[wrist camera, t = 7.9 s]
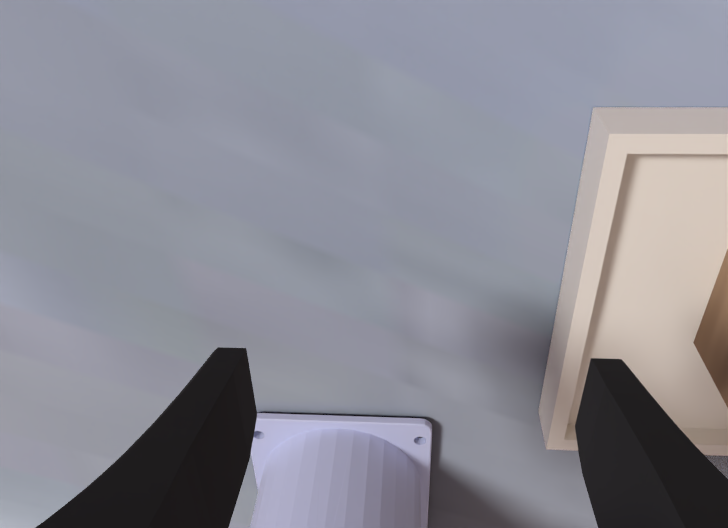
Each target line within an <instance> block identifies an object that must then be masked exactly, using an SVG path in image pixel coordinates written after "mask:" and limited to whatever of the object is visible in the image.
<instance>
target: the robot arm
mask: <svg viewBox="0 0 728 528" xmlns="http://www.w3.org/2000/svg"><path fill="white" fill-rule="evenodd" d="M258 431H261V432H258ZM575 431H576V438H577V444H578V451H579V456H580V462H581V468H582V473H583V477H584V480H585V484H586V487H587V491H588V494H589V498H590V501H591V504H592V508H593V511H594V515H595V518H596V521H597V525H598V528H728V479H727V478H726V477H725V476H724V475H723V474H722V473H721V472H720V471H719V470H718V469H717V468H716V467H715V466H714V465H713V464H712V463H711V462H710V461H709V460H708V459H707V458H706V457H705V456H704V454H703V453H702V452H701V451H700V450H699V449H698V448H697V447H696V446H695V445H694V444H693V443H692V442H691V440H690V439H689V438H688V437H687V436H686V435H685V434H684V433H683V431H682V430H681V429H680V428H679V427H678V426H677V425H676V424H675V423H674V421H673V420H672V419H671V418H670V417H669V416H668V414H667V413H666V412H665V411H664V410H663V409H662V407H661V406H660V405H659V404H658V403H657V401H656V400H655V399H654V398H653V397H652V395H651V394H650V393H649V392H648V391H647V389H646V388H645V387H644V386H643V384H642V383H641V382H640V381H639V380H638V378H637V377H636V376H635V375H634V373H633V372H632V371H631V370H630V368H629V367H628V366H627V365H626V364H625V362H624V361H623V360H622V359H602V358H591V360H590V364H589V368H588V373H587V377H586V381H585V385H584V390H583V394H582V398H581V402H580V407H579V411H578V415H577V419H576V424H575ZM419 437H422V438H419ZM431 445H432V425H431V423H430V422H429V421H428V420H426V419H421V418H395V417H364V416H334V415H304V414H273V413H257V411H256V405H255V399H254V393H253V387H252V381H251V375H250V369H249V363H248V357H247V351H246V348H217V349H216V350H215V351H214V352H213V353H212V354H211V356H210V357H209V358H208V359H207V361H206V362H205V363H204V364H203V366H202V367H201V368H200V369H199V371H198V372H197V373H196V374H195V376H194V377H193V378H192V379H191V380H190V382H189V383H188V384H187V385H186V386H185V388H184V389H183V390H182V391H181V392H180V394H179V395H178V396H177V397H176V398H175V399H174V401H173V402H172V403H171V404H170V405H169V406H168V407H167V409H166V410H165V411H164V412H163V413H162V414H161V415H160V417H159V418H158V419H157V420H156V421H155V422H154V423H153V424H152V425H151V426H150V427H149V428H148V429H147V430H146V431H145V433H144V434H143V435H142V436H141V437H140V438H139V439H138V440H137V441H136V442H135V443H134V444H133V445H132V446H131V447H130V448H129V449H128V450H127V451H126V452H125V453H124V454H123V455H122V456H121V457H120V458H119V459H118V460H117V461H116V462H115V463H114V464H112V465H111V466H110V467H109V468H108V469H107V470H106V471H105V472H104V473H103V474H102V475H100V476H99V477H98V478H97V479H96V480H95V481H94V482H92V483H91V484H90V485H89V486H88V487H87V488H86V489H84V490H83V491H82V492H81V493H79V494H78V495H77V496H76V497H74V498H73V499H72V500H71V501H70V502H68V503H67V504H66V505H65V506H63V507H62V508H61V509H60V510H58V511H57V512H56V513H54V514H53V515H52V516H51V517H49V518H48V519H47V520H45V521H44V522H43V523H41V524H40V525H39V526H37V527H36V528H228V527H229V524H230V520H231V517H232V514H233V511H234V508H235V504H236V501H237V498H238V495H239V492H240V488H241V485H242V482H243V478H244V475H245V472H246V469H247V465H248V462H249V458H250V453H251V456H252V461H253V467H254V472H255V477H256V483H257V488H258V495H257V500H256V504H255V508H254V512H253V517H252V521H251V525H250V528H427V525H428V505H429V485H430V465H431Z"/></svg>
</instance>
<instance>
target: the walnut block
mask: <svg viewBox="0 0 728 528" xmlns="http://www.w3.org/2000/svg"><path fill="white" fill-rule="evenodd" d="M693 343H694V345H695V347H696V349H697V351H698V353H699V355H700V356H701V358H702V360H703V362H704V364H705V366H706V368H707V370H708V372H709V374H710V375H711V377H712V379H713V381H714V383H715V385H716V387H717V389H718V391H719V393H720V394H721V396H722V398H723V400H724V402H725V404H726V406H727V408H728V249H727V252H726V254H725V257H724V260H723V263H722V265H721V268H720V271H719V274H718V276H717V279H716V282H715V285H714V287H713V290H712V293H711V295H710V298H709V301H708V304H707V306H706V309H705V312H704V315H703V317H702V320H701V323H700V326H699V328H698V331H697V334H696V337H695V339H694V342H693Z"/></svg>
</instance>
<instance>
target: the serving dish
mask: <svg viewBox="0 0 728 528" xmlns="http://www.w3.org/2000/svg"><path fill="white" fill-rule="evenodd" d="M727 249H728V107H593V112H592V118H591V123H590V129H589V134H588V140H587V145H586V151H585V156H584V162H583V167H582V173H581V178H580V184H579V189H578V195H577V200H576V206H575V212H574V217H573V223H572V228H571V234H570V239H569V245H568V250H567V256H566V261H565V267H564V272H563V278H562V283H561V289H560V295H559V300H558V306H557V311H556V317H555V322H554V328H553V333H552V339H551V344H550V350H549V355H548V361H547V366H546V372H545V378H544V383H543V389H542V394H541V400H540V405H539V411H538V412H539V416H540V421H541V426H542V431H543V436H544V441H545V446H546V449H549V450H577V451H578V444H577V438H576V431H575V424H576V419H577V415H578V411H579V407H580V402H581V398H582V394H583V390H584V385H585V381H586V377H587V373H588V368H589V364H590V360H591V358H602V359H622V360H623V361H624V362H625V364H626V365H627V366H628V367H629V368H630V370H631V371H632V372H633V373H634V375H635V376H636V377H637V378H638V380H639V381H640V382H641V383H642V384H643V386H644V387H645V388H646V389H647V391H648V392H649V393H650V394H651V395H652V397H653V398H654V399H655V400H656V401H657V403H658V404H659V405H660V406H661V407H662V409H663V410H664V411H665V412H666V413H667V414H668V416H669V417H670V418H671V419H672V420H673V421H674V423H675V424H676V425H677V426H678V427H679V428H680V429H681V430H682V431H683V433H684V434H685V435H686V436H687V437H688V438H689V439H690V440H691V442H692V443H693V444H694V445H695V446H696V447H697V448H698V449H699V450H700V451H701V452H702V453H703V454H704V455H717V456H728V408H727V406H726V404H725V402H724V400H723V398H722V396H721V394H720V393H719V391H718V389H717V387H716V385H715V383H714V381H713V379H712V377H711V375H710V374H709V372H708V370H707V368H706V366H705V364H704V362H703V360H702V358H701V356H700V355H699V353H698V351H697V349H696V347H695V345H694V343H693V342H694V339H695V337H696V334H697V331H698V328H699V326H700V323H701V320H702V317H703V315H704V312H705V309H706V306H707V304H708V301H709V298H710V295H711V293H712V290H713V287H714V285H715V282H716V279H717V276H718V274H719V271H720V268H721V265H722V263H723V260H724V257H725V254H726V252H727Z"/></svg>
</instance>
